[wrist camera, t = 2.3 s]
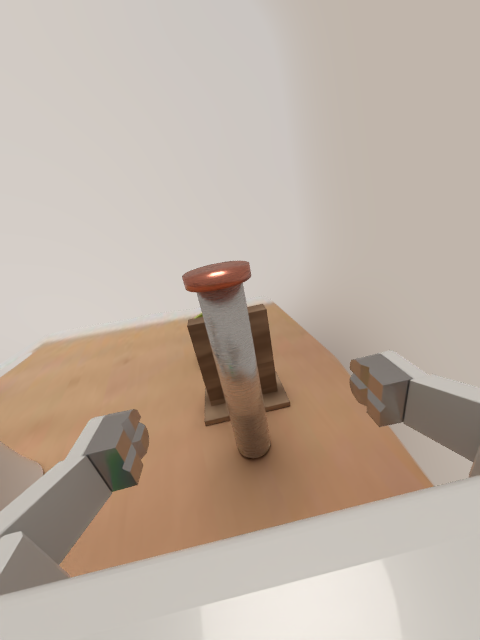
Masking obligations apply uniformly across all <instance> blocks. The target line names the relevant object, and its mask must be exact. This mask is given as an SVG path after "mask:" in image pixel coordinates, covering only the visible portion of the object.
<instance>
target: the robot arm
mask: <svg viewBox="0 0 480 640" xmlns="http://www.w3.org/2000/svg"><path fill="white" fill-rule="evenodd" d="M350 370H351V371H352V372H353V375H352V376H351V377H350V388H351V391H352V393H353V395H354V397H355V398H356V400H357V401H358V402H359V403H360V404H362V405H365V406H367V413H368V414H369V416H370V417H371V418H372V419H373V420H374V422H375V423H376V424H377V425H378V426H379V427H382V426H387V425H392V424H396V423H401V422H404V424H406V425H407V426H409V427H411V428H413V429H414V430H417V431H418V432H420V433H422V434H423V435H425V436H427V437H429V438H431V439H432V440H434V441H436V442H438V443H440V444H441V445H443V446H445V447H447V448H449V449H451V450H452V451H454V452H456V453H458V454H459V455H461V456H463V457H465V458H467V459H468V460H470V461H472V462H473V465H472V468H471V471H470V473H469V478H466V479H462V480H458V481H455V482H450V483H446V484H442V485H438V486H434V487H430V488H426V489H422V490H418V491H414V492H410V493H406V494H402V495H398V496H394V497H390V498H386V499H382V500H378V501H374V502H370V503H366V504H362V505H358V506H354V507H350V508H346V509H342V510H338V511H334V512H330V513H326V514H322V515H318V516H314V517H310V518H306V519H302V520H298V521H294V522H290V523H286V524H282V525H278V526H274V527H270V528H266V529H262V530H258V531H254V532H250V533H246V534H242V535H238V536H234V537H231V538H227V539H223V540H219V541H215V542H211V543H207V544H203V545H199V546H195V547H191V548H187V549H183V550H179V551H175V552H171V553H167V554H163V555H159V556H155V557H151V558H147V559H143V560H139V561H135V562H131V563H127V564H123V565H119V566H115V567H111V568H107V569H103V570H99V571H95V572H91V573H87V574H83V575H79V576H75V577H71V578H70V576H69V574H68V573H67V572H66V571H65V570H63V569H62V568H61V567H60V566H59V564H60V563H61V562H62V560H63V559H64V558H65V556H66V555H67V554H68V552H69V551H70V550H71V548H72V547H73V546H74V544H75V543H76V542H77V540H78V539H79V537H80V536H81V535H82V533H83V532H84V531H85V529H86V528H87V527H88V525H89V524H90V523H91V521H92V520H93V519H94V517H95V516H96V514H97V513H98V512H99V510H100V509H101V508H102V506H103V505H104V504H105V502H106V501H107V500H108V498H109V497H110V496H111V494H112V492H113V491H117V490H120V489H124V488H128V487H132V486H135V485H138V482H139V479H140V475H141V471H142V468H143V463H142V462H141V459H142V458H143V457H144V455H145V454H146V453H147V450H148V446H149V435H148V431H147V428H146V426H145V425H143V424H142V423H140V422H139V421H140V418H141V416H140V414H139V412H138V411H137V410H135V409H133V410H128V411H123V412H118V413H113V414H108V415H104V416H99V417H95V418H92V419H91V420H89V422H88V423H87V425H86V426H85V428H84V430H83V431H82V433H81V435H80V436H79V438H78V439H77V441H76V443H75V444H74V446H73V447H72V449H71V451H70V452H69V454H68V455H67V457H66V459H65V460H64V461H60V462H59V463H57V464H56V465H55V466H54V467H53V468H51V469H50V470H49V471H48V472H47V473H45V474H44V475H43V469H42V467H41V465H40V464H39V463H37V462H35V461H33V460H30V459H28V458H26V457H24V456H22V455H20V454H18V453H17V452H15V451H14V450H12V449H11V448H9V447H8V446H6V445H5V444H3V443H2V442H1V441H0V640H480V387H476V386H473V385H469V384H466V383H462V382H458V381H455V380H451V379H448V378H444V377H441V376H437V375H428V374H427V373H425V372H424V371H422V370H421V369H419V368H418V367H417V366H415V365H414V364H412V363H411V362H409V361H408V360H406V359H405V358H404V357H402V356H401V355H399V354H398V353H396V352H395V351H391V350H389V351H385V352H381V353H378V354H375V355H370V356H366V357H362V358H357V359H353V360H351V362H350Z"/></svg>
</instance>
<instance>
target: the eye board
mask: <svg viewBox="0 0 480 640" xmlns="http://www.w3.org/2000/svg"><path fill="white" fill-rule="evenodd" d="M247 310H248V316H249V321H250V327H251V333H252V338H253V344H254V350H255V355H256V361H257V367H258V372H259V378H260V384H261V389H262V395H263V401H264V406H265V412H267V411H271V410H275V409H279V408H284V407H288V406H290V401H289V399H288V397H287V394H286V392H285V390H284V388H283V386H282V383H281V381H280V379H279V377H278V375H277V372H275V367H274V360H273V353H272V346H271V339H270V332H269V324H268V317H267V310H266V308H265V306H264V305H263V304H260V305H255V306H251V307H247ZM187 327H188V330H189V333H190V337H191V340H192V343H193V347H194V350H195V353H196V357H197V360H198V363H199V367H200V370H201V373H202V377H203V380H204V383H205V387H206V388H205V421H204V422H205V425H206V426H207V425H211V424H215V423H220V422H224V421H228V420H230V416H229V412H228V409H227V405H226V401H225V397H224V394H223V390H222V386H221V382H220V378H219V375H218V371H217V367H216V363H215V360H214V356H213V352H212V348H211V345H210V341H209V337H208V333H207V329H206V326H205V322H204V318H203V317H199V318H194V319H190V320H188V325H187Z"/></svg>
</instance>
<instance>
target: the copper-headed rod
mask: <svg viewBox="0 0 480 640" xmlns="http://www.w3.org/2000/svg"><path fill="white" fill-rule="evenodd" d="M250 277H251V272H250V265H249V262H246V261H229V262H222V263H217V264H211V265H207V266H204V267H200V268H197V269H194V270H191V271H189V272H187V273H185V274H184V275H183V276H182V278H183V281H184V285H185V288H186V290H187V291H190V292H197V296H198V299H199V303H200V307H201V311H202V314H203V318H204V322H205V326H206V329H207V333H208V337H209V341H210V345H211V348H212V352H213V356H214V360H215V363H216V367H217V371H218V375H219V378H220V382H221V386H222V390H223V394H224V397H225V401H226V405H227V409H228V412H229V416H230V420H231V424H232V427H233V431H234V435H235V439H236V443H237V446H238V450H239V452H240V453H241V454H242V455H243V456H245V457H247V458H258V457H261V456H263V455H264V454H265V453H266V452H267V451H268V449H269V447H270V443H271V441H270V435H269V429H268V423H267V418H266V412H265V406H264V401H263V395H262V389H261V384H260V378H259V372H258V367H257V361H256V355H255V350H254V344H253V338H252V333H251V327H250V321H249V316H248V310H247V304H246V299H245V294H244V287H243V282H245V281H247V280H248V279H249V278H250Z"/></svg>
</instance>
